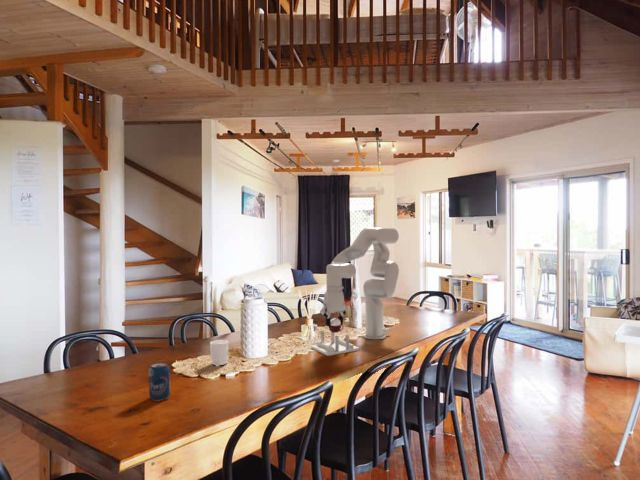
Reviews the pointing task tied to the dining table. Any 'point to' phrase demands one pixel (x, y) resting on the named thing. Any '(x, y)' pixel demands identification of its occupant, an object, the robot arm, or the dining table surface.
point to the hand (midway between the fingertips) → (334, 325)
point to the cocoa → (335, 325)
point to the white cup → (219, 351)
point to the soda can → (159, 381)
